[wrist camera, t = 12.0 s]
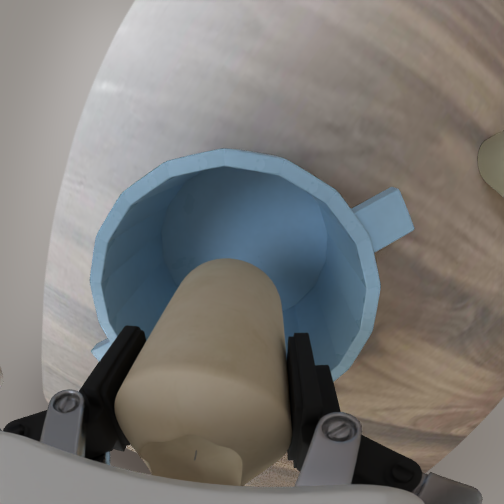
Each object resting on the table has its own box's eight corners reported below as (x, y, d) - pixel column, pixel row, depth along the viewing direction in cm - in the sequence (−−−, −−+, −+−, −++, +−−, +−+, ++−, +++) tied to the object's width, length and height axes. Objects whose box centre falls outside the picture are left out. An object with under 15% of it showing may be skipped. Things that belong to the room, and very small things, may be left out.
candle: (303, 311, 16) (334, 479, 7) (227, 363, 17) (200, 518, 8) (231, 233, 15) (178, 373, 5) (157, 299, 16) (68, 441, 7)
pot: (104, 228, 27) (26, 274, 16) (307, 101, 22) (339, 64, 12) (195, 356, 30) (167, 441, 20) (387, 262, 26) (447, 327, 16)
